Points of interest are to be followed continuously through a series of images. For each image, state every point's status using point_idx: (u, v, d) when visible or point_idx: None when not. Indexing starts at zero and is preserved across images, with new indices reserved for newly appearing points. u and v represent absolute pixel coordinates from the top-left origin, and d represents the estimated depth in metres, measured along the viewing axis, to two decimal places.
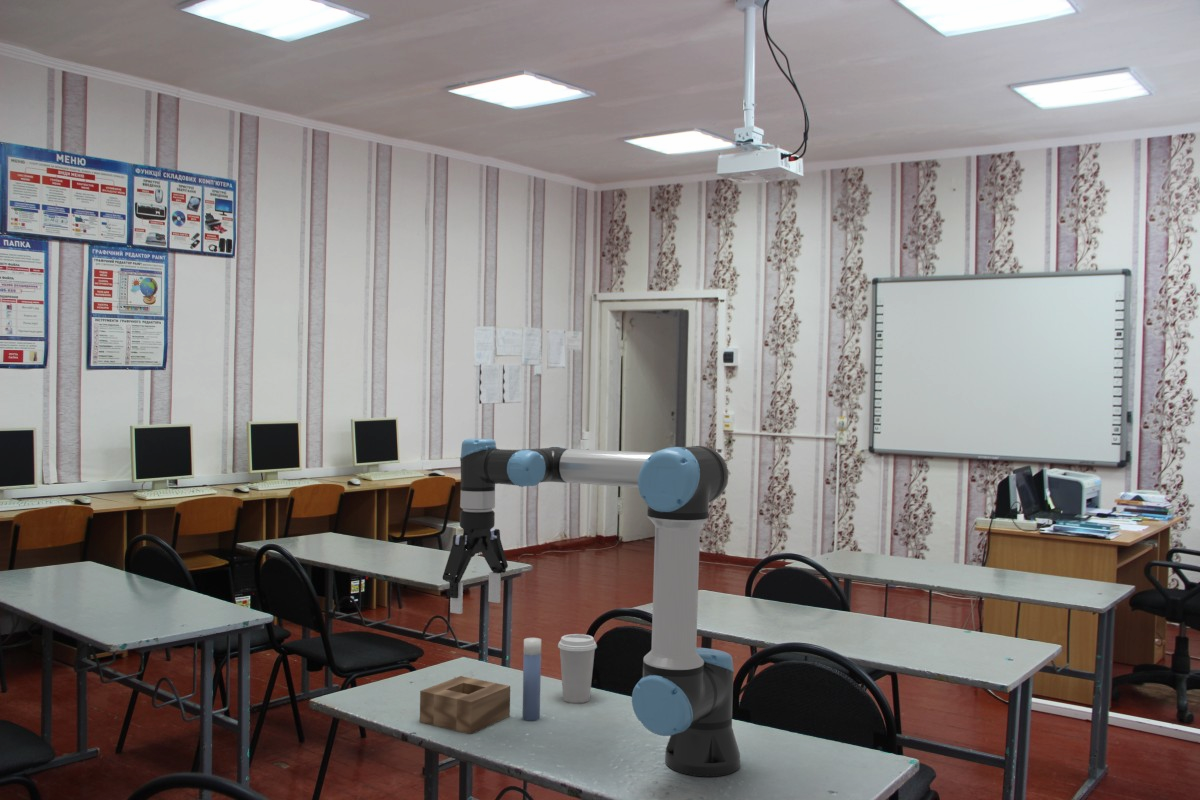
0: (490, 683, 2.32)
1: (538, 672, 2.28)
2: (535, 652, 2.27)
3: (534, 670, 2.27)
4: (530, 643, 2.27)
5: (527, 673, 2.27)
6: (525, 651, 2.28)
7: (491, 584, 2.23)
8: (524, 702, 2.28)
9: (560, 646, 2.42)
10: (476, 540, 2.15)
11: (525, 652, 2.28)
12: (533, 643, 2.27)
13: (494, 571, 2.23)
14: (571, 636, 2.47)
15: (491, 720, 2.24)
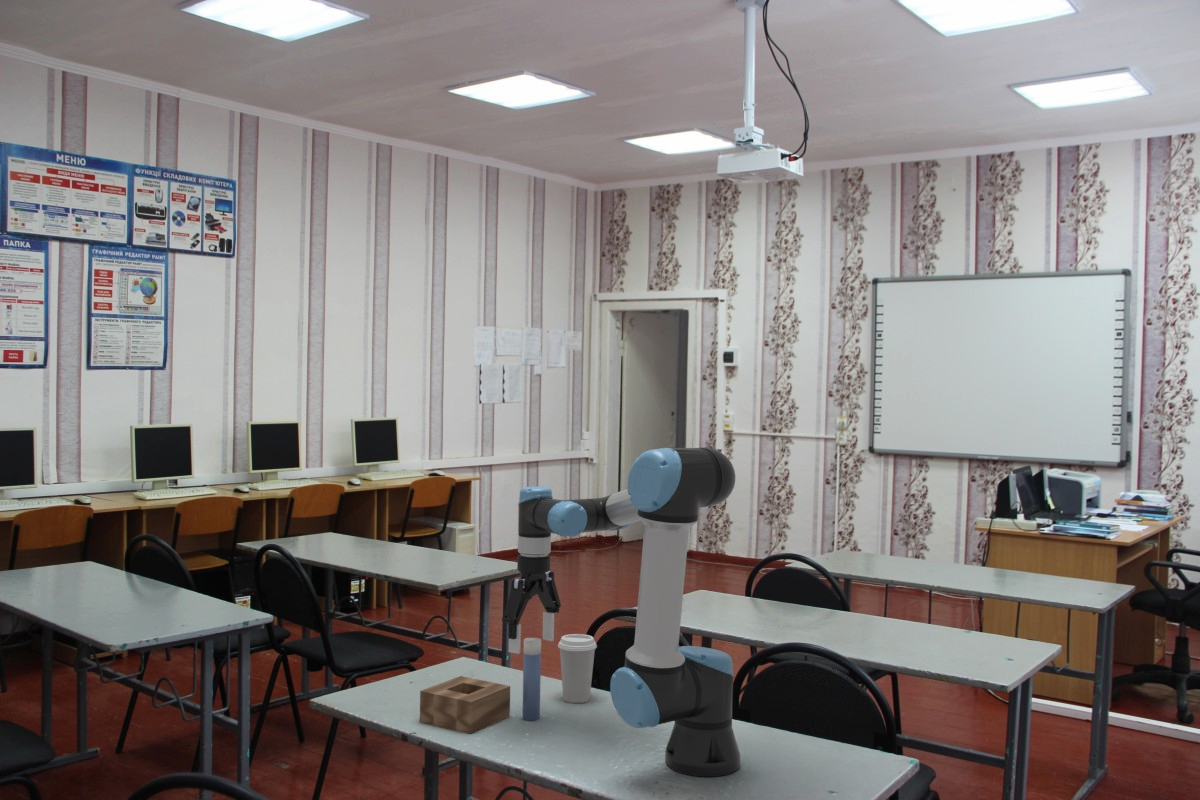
0: (490, 683, 2.32)
1: (538, 672, 2.28)
2: (535, 652, 2.27)
3: (534, 670, 2.27)
4: (530, 643, 2.27)
5: (527, 673, 2.27)
6: (525, 651, 2.28)
7: (545, 624, 2.35)
8: (524, 702, 2.28)
9: (560, 646, 2.42)
10: (533, 583, 2.27)
11: (525, 652, 2.28)
12: (533, 643, 2.27)
13: (548, 611, 2.36)
14: (571, 636, 2.47)
15: (491, 720, 2.24)
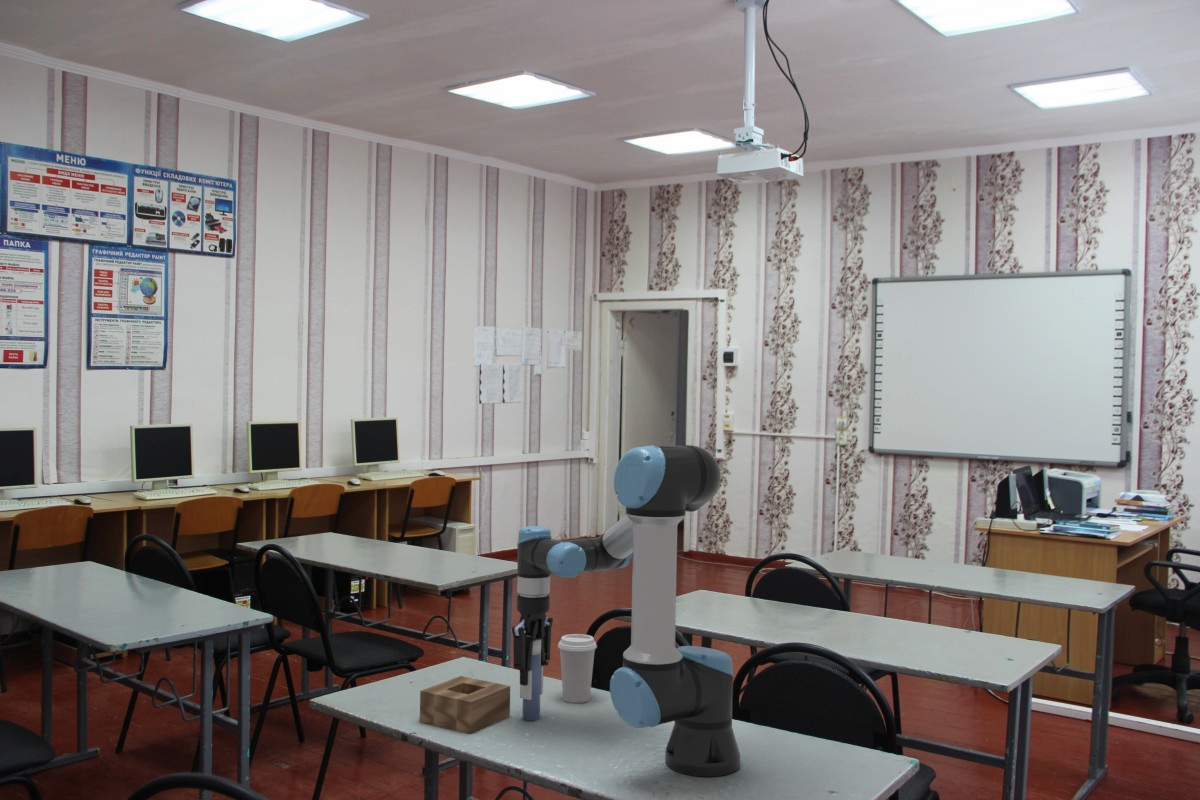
0: (490, 683, 2.32)
1: (538, 672, 2.28)
2: (535, 652, 2.27)
3: (534, 670, 2.27)
4: None
5: None
6: None
7: None
8: (524, 702, 2.28)
9: (560, 646, 2.42)
10: (533, 625, 2.27)
11: None
12: (533, 643, 2.27)
13: None
14: (571, 636, 2.47)
15: (491, 720, 2.24)
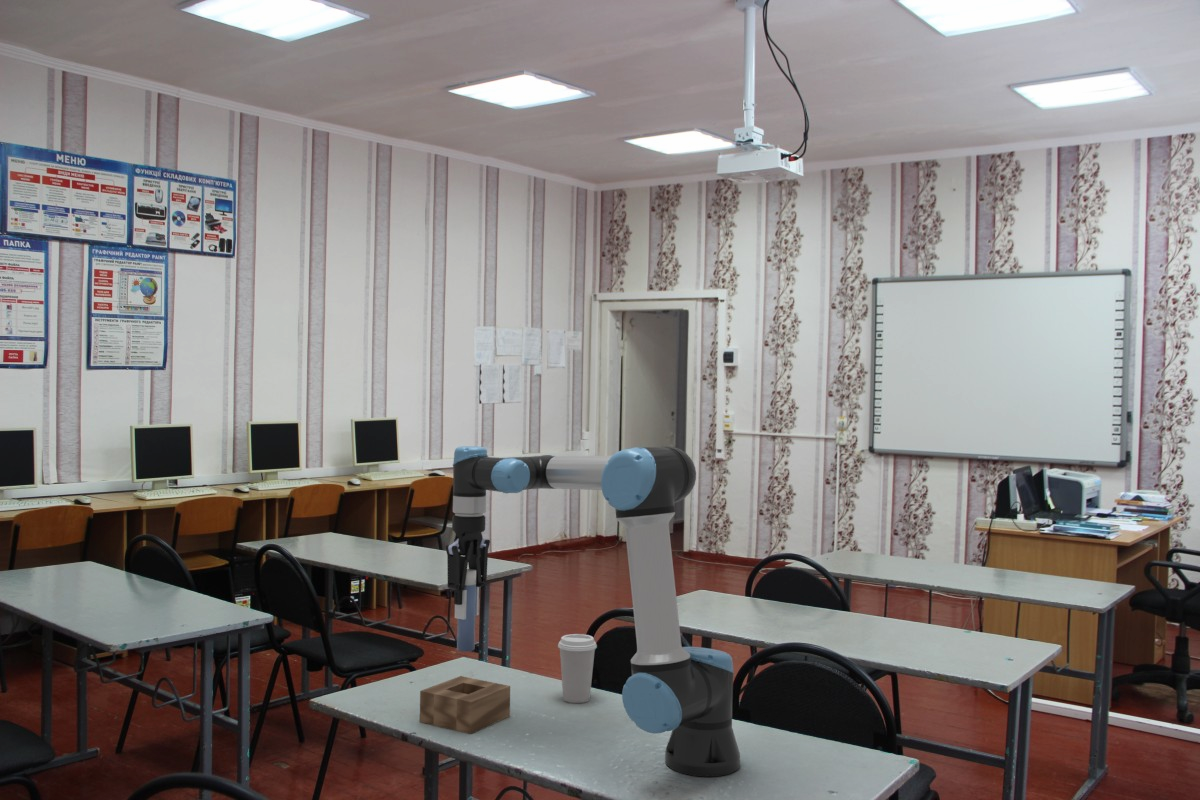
0: (490, 683, 2.32)
1: (472, 602, 2.26)
2: (470, 582, 2.26)
3: (468, 600, 2.26)
4: None
5: None
6: None
7: None
8: (458, 633, 2.26)
9: (560, 646, 2.42)
10: (467, 545, 2.25)
11: None
12: (467, 573, 2.26)
13: None
14: (571, 636, 2.47)
15: (491, 720, 2.24)
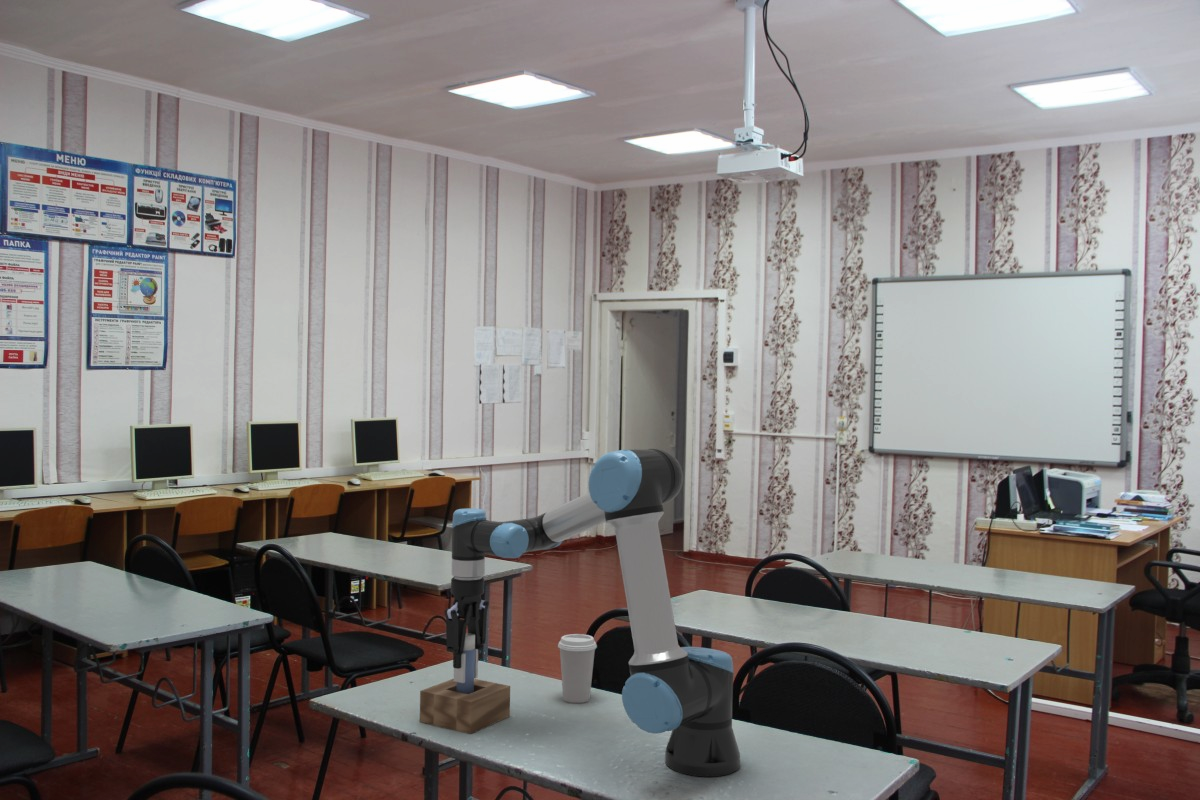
0: (490, 683, 2.32)
1: (471, 667, 2.26)
2: (468, 648, 2.26)
3: (467, 666, 2.26)
4: None
5: None
6: None
7: None
8: None
9: (560, 646, 2.42)
10: (466, 608, 2.25)
11: None
12: (466, 638, 2.26)
13: None
14: (571, 636, 2.47)
15: (491, 720, 2.24)
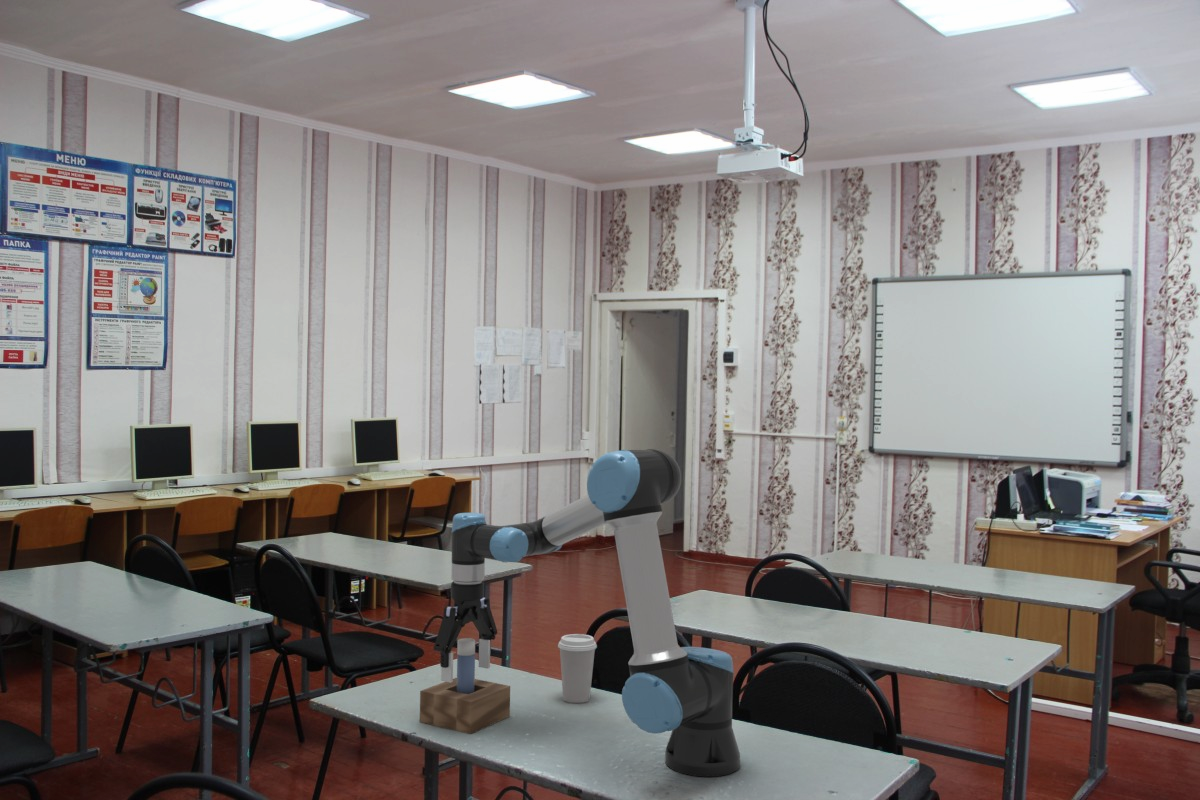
0: (490, 683, 2.32)
1: (471, 672, 2.26)
2: (469, 653, 2.26)
3: (467, 671, 2.26)
4: (463, 644, 2.26)
5: (460, 673, 2.26)
6: (458, 652, 2.26)
7: (481, 651, 2.33)
8: None
9: (560, 646, 2.42)
10: (466, 611, 2.25)
11: (459, 652, 2.26)
12: (466, 644, 2.26)
13: (484, 638, 2.34)
14: (571, 636, 2.47)
15: (491, 720, 2.24)
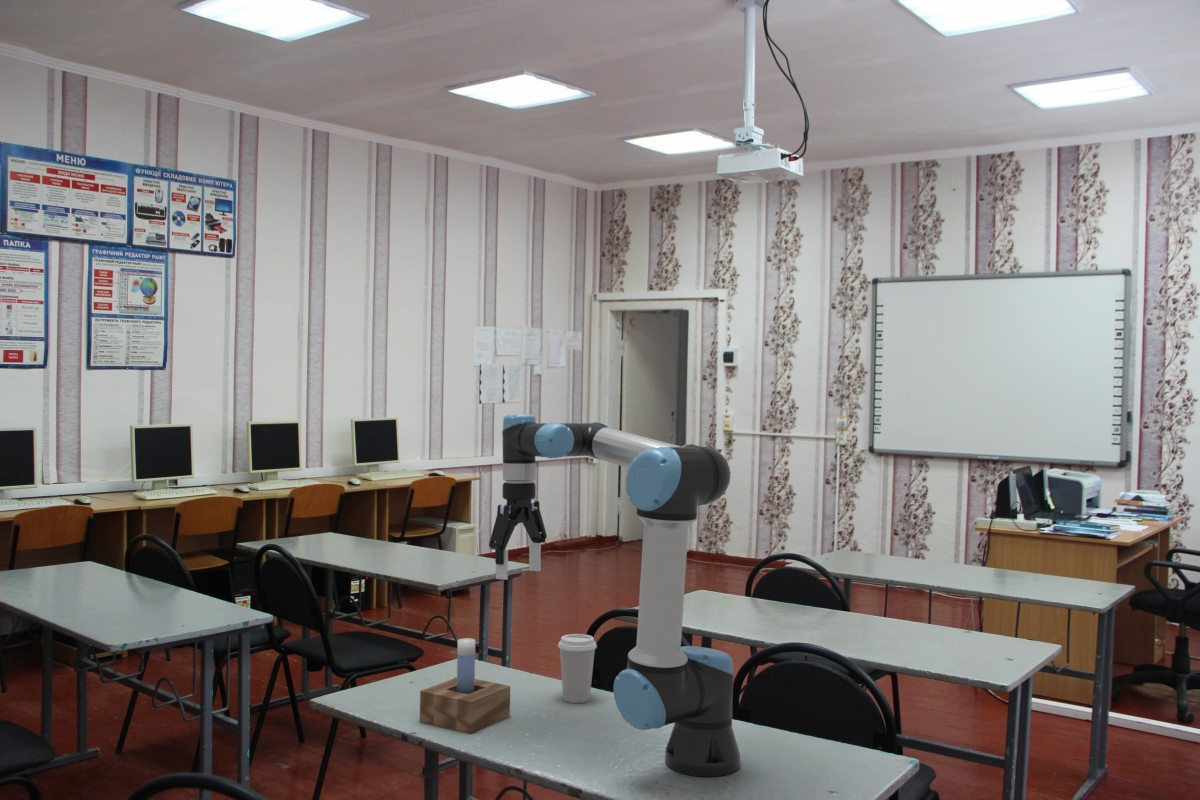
0: (490, 683, 2.32)
1: (471, 672, 2.26)
2: (469, 653, 2.26)
3: (467, 671, 2.26)
4: (463, 644, 2.26)
5: (460, 673, 2.26)
6: (459, 652, 2.26)
7: (531, 554, 2.34)
8: None
9: (560, 646, 2.42)
10: (519, 510, 2.26)
11: (459, 652, 2.26)
12: (466, 644, 2.26)
13: (534, 541, 2.35)
14: (571, 636, 2.47)
15: (491, 720, 2.24)
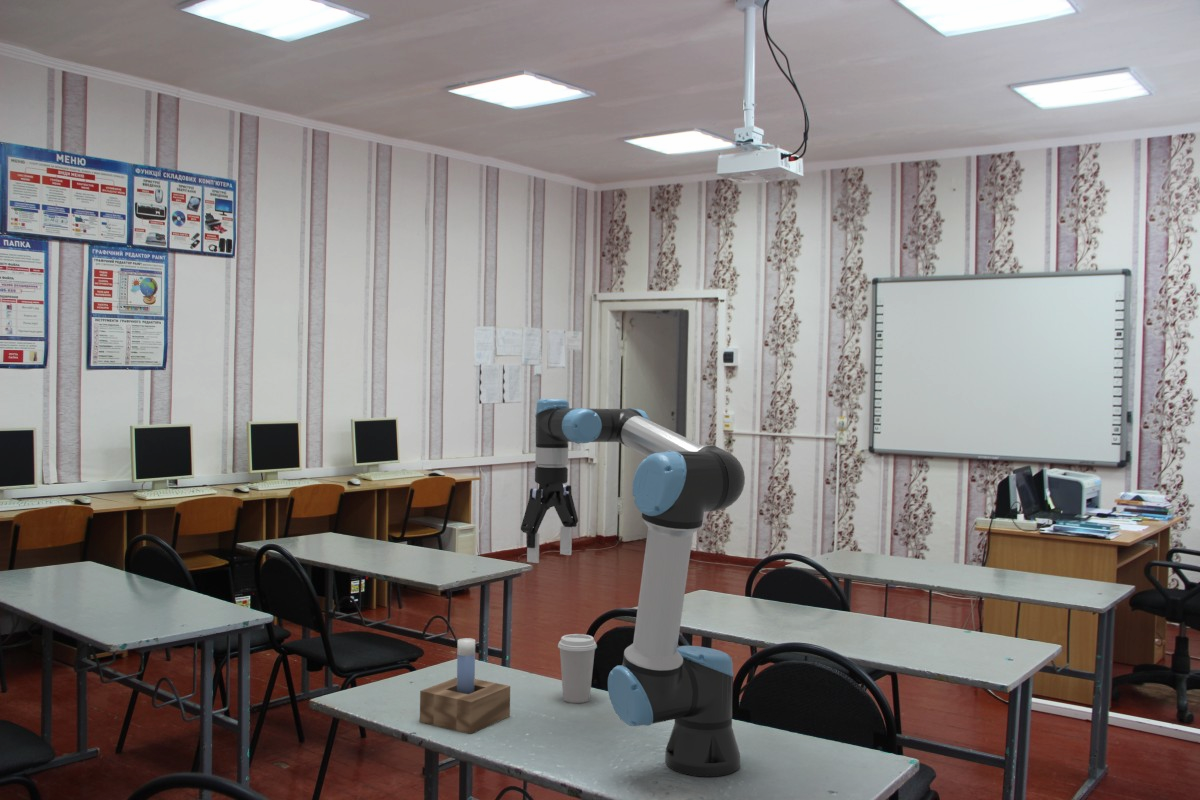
0: (490, 683, 2.32)
1: (471, 672, 2.26)
2: (469, 653, 2.26)
3: (467, 671, 2.26)
4: (463, 644, 2.26)
5: (460, 673, 2.26)
6: (459, 652, 2.26)
7: (562, 538, 2.35)
8: None
9: (560, 646, 2.42)
10: (551, 494, 2.27)
11: (459, 652, 2.26)
12: (466, 644, 2.26)
13: (565, 525, 2.36)
14: (571, 636, 2.47)
15: (491, 720, 2.24)
